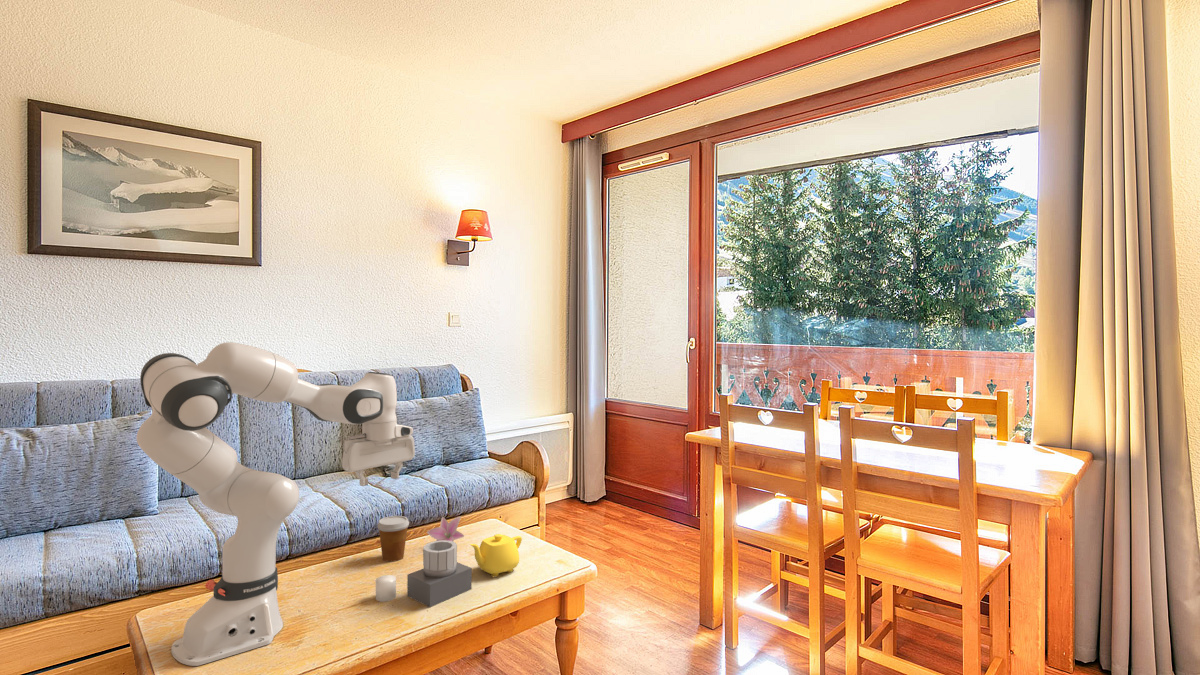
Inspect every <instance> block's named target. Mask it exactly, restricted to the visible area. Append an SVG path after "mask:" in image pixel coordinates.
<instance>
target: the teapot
mask: <svg viewBox="0 0 1200 675" xmlns="http://www.w3.org/2000/svg"><path fill="white" fill-rule="evenodd" d="M522 540H523V538H522V536H521V535H515V536H513V537H510V536H508V535H506V534H501V533H498V534H497V533H496V534H494V535H493V536H489V537H486V538H484V539H483V540H482V541H481V543H480V545H478V544H476V543H470V544H469V545H470V546H472V548H473V550H474V559H475V561H476V564H477V565H478V567H479V568H480V569H481V570H482V571H483V570H484V571H483V572H486V573H488V574H491V576H492V577H493V576H496V577H498V576H499V574H501V573H506V572H507V573H512V572H514V569H515V568H517V567H518V565H519V563H520V553H519V548H520V546H521V544H522ZM511 571H512V572H511Z"/></svg>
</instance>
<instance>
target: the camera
mask: <svg viewBox="0 0 1200 675" xmlns="http://www.w3.org/2000/svg"><path fill="white" fill-rule="evenodd" d="M422 551H423V552H422V557H423V559H422V561H423V562H422V565H423V568H421V569H419V570H415V571H413V572H411V573H408V574H407V577H406V578H407V579H406V580H407V581H406V584H407V585H406V587H407V588H406V589H407V592H406V595H407V597H408V598H411V599H413V600H415V601H417V602H419V603H421V604H423V605H425V606H427V607H429V608H432V607H434V606H436V605H438V604H441V603H443V602H446V601H447V600H450V599H453V598H454V597H456V596H457V597H458V595H459V596H460V595H461V594H463V593H466V592H468V591H470V590H472V583H473V582H472V579H473V578H472V571H473V570H472V567H470V566H468V565H466V564H463V563H460V562H458V545H457V543H456V542H455V541H454V542H452V541H447V540H440V541H436V540H434V541H431V542H427V543H426V544H424V545H423V548H422Z"/></svg>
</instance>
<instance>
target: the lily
mask: <svg viewBox="0 0 1200 675" xmlns="http://www.w3.org/2000/svg"><path fill="white" fill-rule="evenodd" d="M461 517H462V516H457V517H455V518H453V519H452V520H450V521H449V522H448V520H447V519H446V518H445V517H444V516H442V517H441V520H440V526H438V527H434V528H431V529H429V530H427V531H426V533H427V534H428V536H429V537H431V538H433V539H434V540H435V541H440V540H447V541H452V542H455V540H458V539H462V538H464V537H465V535H464V534H463V533H462V532H460V531H458V530H457V529H458V527H459V523H460V521H461Z"/></svg>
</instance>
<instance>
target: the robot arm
mask: <svg viewBox="0 0 1200 675" xmlns="http://www.w3.org/2000/svg"><path fill="white" fill-rule="evenodd" d="M139 376H140V379H139V380H140V388H141V391H142V394H143V398H144V402H145V405H146V406H147V407H150V408H151V409H152V412H151V414H150V416H148V418H147V419H145V421H144V422H142V423H141V424H140V426H139V429H138V430H137V433H136V443H137V445H138V446H139V448H140V449H141V451H143V453H144V454H145V455H146V456H147V457H148V458H150V459H151V461H153V463H155V464H156V465H158V467H160V468H162V469H163V470H164V471H166V472H167V473H168V474H170V475H172V476H173V477H175V478H176V479H178V480H179V481H180V482H183V483H184V484H185V485H186V486H188V487H190V488H191V489H193V490H194V491H195V492H196V493H197V494H198V496H199V500H200V502H201V504H203V505H204V506H205V507H206V508H208V509H210V510H212V511H214V512H217V513H219V514H223V515H228V516H233V517H236V518H237V525H236V530H235V532H234V534H232V535H231V536H230V537H229V538H227V540H225V541H224V544H223V546H222V552H221V553H222V559H221V561H222V575H221V577H220V579H219V580H218V581H214V579H209V580H208V581H207V580H206V583H205V585H204V586H205V588H206V589H207V590H208V591H210V592H211V591H213V596H212V597H210V598H209V599H208V600H207V601H206V602H205V603H204V604H203V605H202V606H201V607H199V608H198V609H197V610H196V611H195V612H194V613H193V614H192V615H191V616H190V617H188V619H187V620H186V622H185V626H184V628H183V629H184V630H183V634H182V637H181V638H178V639H177V640H175V641H173V642H172V644H171V649H170V650H171V651H170V652H171V656H172V657H173V658H174V660H176V661H177V662H179V663H181V664H183V665H186V666H193V667H198V666H202V665H204V664H205V665H206V664H208V663H212V662H214V661H215V662H216V661H218V660H222V659H224V658H225V659H226V658H228V657H231V656H234V655H237V654H241V653H244V652H247V651H251V650H254V649H257V648H260V647H263V646H267V645H270V644H271V643H272V642H273V639H274V637H275V636H276V635H277V634H278V633H279V632H280V631H281V630H282V629H283V626H284V621H283V619H282V617H281V612H280V607H279V602H278V594H277V590H278V589H279V588H278V587H279V586H278V585H279V575H278V568H277V566H276V563H277V562H276V558H277V556H276V554H277V538H278V534H279V530H280V528H281V526H282V525H283V524H282V523H283V522H284V521H285V519H286V518H288V517H289V516H290V515H291V514H292V513H293V512H294V511H295V510H296V507H297V506H298V503H299V501H300V500H299V499H300V488H299V486H298V485H297V483H296V482H295V480H293V479H291V478H289V477H286V476H285V475H282V474H279V473H276V472H270V471H264V470H258V469H254V468H249V467H247V466H245V465H243V464H241V463H240V462H239V461H238V453H237V451H236V450H235V448H233V447H232V446H230V444H229V443H227V442H225V441H224V440H222V438H220V437H219V436H218V435H216V434H215V433H213V431H211V430H210V429H208V427H209V426H211V425H212V424H213V423H214V422H215V421H216V420H218V418H220V416H221V415H222V413H223V412H224V410H225V409H226V408H225V407H226V406H228V404H230V403H231V402H232V399H233V394H234V395H238V396H239V395H240V396H242V397H244V398H249V399H252V400H256V401H261V402H265V403H276V404H279V403H283V402H287V403H290V404H293V405H296V406H298V407H302V408H303V409H305V410H306V411H308V413H309V414H311V416H313V417H314V418H315V419H317V420H318V421H321V422H332V423H333V422H334V423H341V424H346V425H347V424H349V425H360V424H362V427H361V428H362V430H361V431H362V433H360V434H357V435H355V434H354V435H349V436H348V437H347V438H346V439H345V440H344V441H343V448H342V449H343V454H342V458H341V459H342V460H341V461H342V462H341V467H342V469H343V470H344V471H346V472H349V473H353V472H355V475H356V476H357V478H358V479H359V486H360V487H366V486H368V485H369V478H366V477H365V476H364V474H365V472H366V470H368V469H374V468H377V467H378V468H379V467H382V466H386V465H387V466H388V465H392V464H393V465H394V469H393V471H390V479H393V480H396V479H399V478H400V472H401V469H402V468H403V462H406V461H411V460H413V459H414V457H415V455H416V454H415V453H416V452H415V451H416V449H415V448H416V447H415V438H414V437H413V434H414V429H413V427H412V426H408V425H403V424H401V423H397V421H398V418H397V417H398V416H397V414H396V409H397V405H398V392H397V384H396V379H395V377H394V376H393V375H392V374H389V373H386V372H376V371H368V372H365V373H364V376H363V377H362V378H361V379H360V380H358V381H357V382H356V383H353V384H351V385H350V386H349V385H339V384H336V383H335V384H333V383H321V384H313V383H311V382H309V381H306V380H303V379H301V378H299V371H298V367H297V365H295V363H293V362H292V361H290V360H289V359H286V358H285V357H283V356H281V355H279V354H276V353H275V352H271V351H269V350H265V349H262V348H260V347H256V346H252V345H248V344H244V343H238V342H230V341H228V342H222V343H219V344H218V345H216V346H214V347H213V348H212V349H211V350H210V351H209V353H208V354H207V356H206V358H205V359H203V361H200V362H199V363H198V362H197V363H196V362H195V361H194V360H193V359H191V358H190V357H188V356H186V355H183V354H181V353H175V352H169V353H167V352H165V353H161V354H157V355H155V356H153V357H152V358H150V359H149V360H147V362H146V363H145V364H144V365H143V367H142V369H141V372H140V375H139Z"/></svg>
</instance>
